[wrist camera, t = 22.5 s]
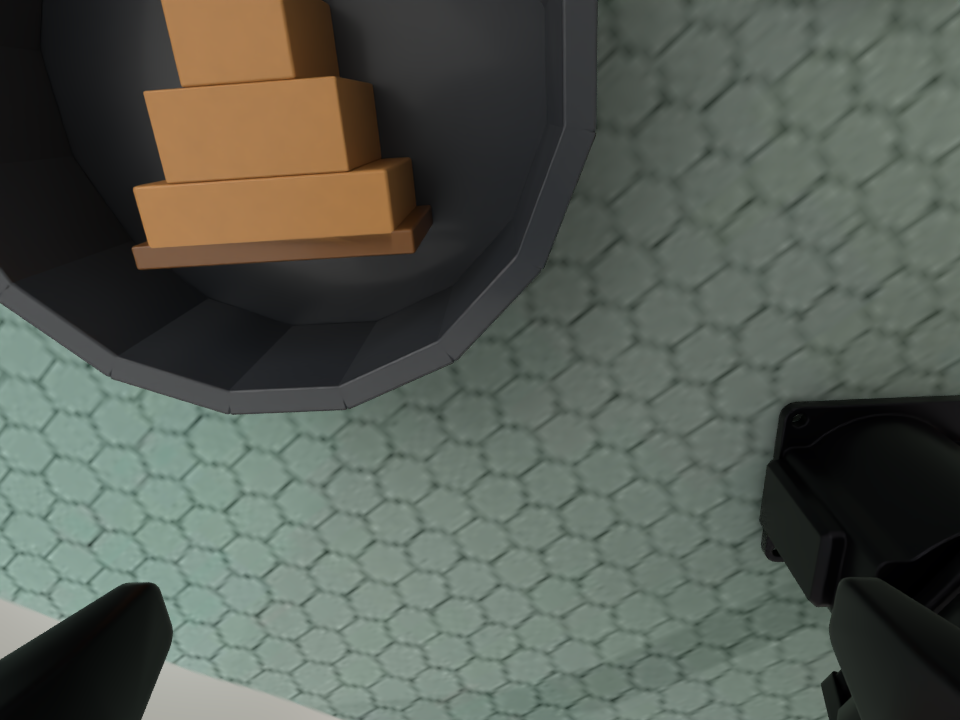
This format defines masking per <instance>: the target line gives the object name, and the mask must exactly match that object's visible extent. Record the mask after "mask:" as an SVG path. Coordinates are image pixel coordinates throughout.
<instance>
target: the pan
mask: <svg viewBox="0 0 960 720" xmlns="http://www.w3.org/2000/svg"><path fill="white" fill-rule="evenodd" d="M322 1H324V2H325V3H327V4H329V6H330V12H331V19H332V26H333V33H334V40H335V47H336V54H337V61H338V68H339V75H340V77H341V78H346V79H351V80H356V81H361V82H366V83H371V84H372V85H373V92H374V100H375V108H376V116H377V124H378V132H379V140H380V148H381V156H382V157H381V159H386V158H400V157H410V158H411V160H412V169H413V178H414V188H415V197H416V206H423V205H430V206H431V208H432V219H433V224H432V226H431V228H430V229H429V231H428V232H427V234H426V236H425V237H424V239H423V240H422V242H421V244H420V245H419V247H418V248H417V250H416V252H415V253H413V254H397V255H380V256H364V257H347V258H330V259H314V260H297V261H281V262H264V263H248V264H231V265H215V266H198V267H181V268H165V269H148V270H139V269H138V268H137V266H136V262H135V259H134V255H133V252H132V247H133V246H135V245H138V244H141V243H144V242H146V241H147V238H146V234H145V231H144V227H143V223H142V220H141V216H140V213H139V209H138V206H137V202H136V199H135V195H134V192H133V188H134V187H135V186H138V185H143V184H148V183H153V182H158V181H163V180H166V179H165V175H164V171H163V167H162V163H161V159H160V155H159V152H158V148H157V144H156V140H155V136H154V132H153V129H152V125H151V121H150V117H149V113H148V109H147V105H146V102H145V98H144V94H143V92H144V91H150V90H162V89H175V88H185V87H182V86H181V83H180V79H179V75H178V71H177V67H176V62H175V58H174V54H173V50H172V45H171V41H170V37H169V33H168V29H167V24H166V20H165V16H164V12H163V7H162V3H161V0H0V303H1V304H3V305H4V306H5V307H7V308H8V309H10V310H11V311H13V312H14V313H16V314H17V315H19V316H20V317H22V318H23V319H24V320H26V321H27V322H29V323H30V324H32V325H33V326H35V327H36V328H38V329H39V330H40V331H42V332H43V333H45V334H46V335H48V336H49V337H51V338H52V339H54V340H55V341H57V342H58V343H59V344H61V345H62V346H64V347H65V348H67V349H68V350H70V351H71V352H73V353H74V354H75V355H77V356H78V357H80V358H81V359H83V360H84V361H86V362H87V363H89V364H90V365H92V366H93V367H94V368H96V369H97V370H99V371H100V372H102V373H103V374H105V375H106V376H109V377H111V378H112V379H114V380H117V381H120V382H124V383H127V384H130V385H134V386H137V387H140V388H143V389H147V390H150V391H153V392H156V393H160V394H163V395H166V396H169V397H173V398H176V399H179V400H182V401H186V402H189V403H192V404H196V405H199V406H202V407H205V408H209V409H212V410H215V411H218V412H222V413H225V414H230V413H231V414H232V415H236V414H260V413H284V412H307V411H331V410H346V409H347V408H348V409H351V408H353V407H355V406H358V405H360V404H362V403H364V402H367V401H369V400H371V399H373V398H376V397H378V396H380V395H382V394H385V393H387V392H389V391H391V390H394V389H396V388H398V387H400V386H403V385H405V384H407V383H409V382H412V381H414V380H416V379H418V378H421V377H423V376H425V375H427V374H430V373H432V372H434V371H436V370H439V369H441V368H443V367H445V366H448V365H450V364H452V363H453V362H454V361H456V360H458V359H459V358H460V357H461V356H462V355H463V354H464V353H465V352H466V351H467V350H468V349H469V348H470V346H471V345H472V344H473V343H474V342H475V341H476V340H477V339H478V338H479V337H480V336H481V335H482V334H483V333H484V332H485V331H486V330H487V328H488V327H489V326H490V325H491V324H492V323H493V322H494V321H495V320H496V319H497V318H498V317H499V316H500V315H501V314H502V313H503V312H504V310H505V309H506V308H507V307H508V306H509V305H510V304H511V303H512V302H513V301H514V300H515V299H516V298H517V297H518V296H519V295H520V294H521V293H522V291H523V290H524V289H525V288H526V287H527V286H528V285H529V284H530V283H531V282H532V281H533V280H534V279H535V278H536V277H537V276H538V275H539V273H540V272H541V270H542V269H543V268H544V267H545V264H546V262H547V259H548V257H549V254H550V252H551V249H552V246H553V244H554V241H555V239H556V236H557V234H558V231H559V228H560V226H561V223H562V221H563V218H564V216H565V213H566V211H567V208H568V205H569V203H570V200H571V198H572V195H573V193H574V190H575V187H576V185H577V182H578V180H579V177H580V175H581V172H582V169H583V167H584V164H585V162H586V159H587V157H588V154H589V152H590V149H591V146H592V144H593V141H594V139H595V136H596V133H595V131H596V129H597V25H598V0H322Z"/></svg>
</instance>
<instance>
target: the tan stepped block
mask: <svg viewBox="0 0 960 720" xmlns="http://www.w3.org/2000/svg"><path fill="white" fill-rule="evenodd" d="M161 3H162V7H163V12H164V16H165V20H166V24H167V29H168V33H169V37H170V41H171V45H172V50H173V54H174V58H175V62H176V67H177V71H178V75H179V79H180V83H181V86H182V87H185V88H175V89H162V90H150V91H144V92H143V94H144V98H145V102H146V105H147V109H148V113H149V117H150V121H151V125H152V129H153V132H154V136H155V140H156V144H157V148H158V152H159V155H160V159H161V163H162V167H163V171H164V175H165V179H166V180H163V181H158V182H153V183H148V184H143V185H138V186H135V187H134V188H133V192H134V195H135V199H136V202H137V206H138V209H139V213H140V216H141V220H142V223H143V227H144V231H145V234H146V238H147V241H146V242H144V243H141V244H138V245H135V246H133V247H132V252H133V255H134V259H135V262H136V266H137V268H138V269H139V270H148V269H165V268H181V267H198V266H215V265H231V264H248V263H264V262H281V261H297V260H314V259H330V258H347V257H364V256H380V255H397V254H413V253H415V252H416V250H417V248H418V247H419V245H420V244H421V242H422V240H423V239H424V237H425V236H426V234H427V232H428V231H429V229H430V228H431V226H432V224H433V219H432V208H431V206H430V205H423V206H416V197H415V188H414V178H413V169H412V160H411V158H410V157H400V158H386V159H381V157H382V156H381V148H380V140H379V132H378V124H377V116H376V108H375V100H374V92H373V85H372V84H371V83H366V82H361V81H356V80H351V79H346V78H341V77H340V75H339V68H338V61H337V54H336V47H335V40H334V33H333V26H332V19H331V12H330V6H329V4H327V3H325V2H324V1H322V0H161Z"/></svg>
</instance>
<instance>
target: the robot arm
mask: <svg viewBox="0 0 960 720" xmlns="http://www.w3.org/2000/svg"><path fill="white" fill-rule="evenodd" d="M798 414H802V416H801V418H800V419H799V420H798V421H794V422H792V420H793V417H795V416H796V415H798ZM760 523H761V525H762V527H763V535H762V542H761V548H762V550H763V552H764V553H765V555H766V557H767V558H768V559H769V560H771V561H774V562H785V564H786V565H787V567H788V568H789V570H790V572H791V573H792V575H793V576H794V578H795V580H796V581H797V583H798V584H799V586H800V588H801V589H802V591H803V593H804V594H805V596H806V597H807V599H808V600H809V601H810V602H811V603H812V604H813V605H815V606H816V607H828V609H829V610H830V612H831V613H832V615H831V619H830V624H829V635H830V640H831V644H832V647H833V650H834V652H835V655H836V657H837V660H838V662H839V665H840V667H841V670H840V671H839V672H836V671H833V672H832V673H831V674H830V675H829V676H828V677H827V678H826V679H825V680H824V681H823V682H822V683H821V687H822V691H823V696H824V700H825V704H826V708H827V712H828V717H829V720H960V395H955V396H930V397H906V398H881V399H857V400H832V401H808V402H794V403H790V404H788V405H787V406H785V407H784V408H783V409H782V410H781V413H780V416H779V422H778V429H777V437H776V444H775V451H774V458H773V460H771V461H770V463H769V464H768V465H767V469H766V476H765V483H764V491H763V498H762V505H761V512H760ZM775 547H776V549H774V548H775ZM773 549H774V550H773ZM172 636H173V629H172V624H171V621H170V618H169V615H168V612H167V609H166V606H165V603H164V600H163V597H162V594H161V591H160V589H159V587H158V586H157V585H156V584H154V583H150V582H143V583H125V584H122V585H120V586H118V587H117V588H115V589H113V590H112V591H110V592H109V593H107V594H105V595H104V596H102V597H100V598H99V599H97V600H96V601H94V602H92V603H91V604H89V605H88V606H86V607H84V608H83V609H81V610H79V611H78V612H76V613H75V614H73V615H71V616H70V617H68V618H67V619H65V620H63V621H62V622H60V623H59V624H57V625H55V626H54V627H52V628H50V629H49V630H47V631H46V632H44V633H43V634H41V635H39V636H38V637H36V638H34V639H33V640H31V641H30V642H28V643H26V644H25V645H23V646H21V647H20V648H18V649H17V650H15V651H14V652H12V653H10V654H9V655H7V656H5V657H4V658H2V659H1V660H0V720H141V719H142V716H143V714H144V711H145V709H146V706H147V704H148V701H149V699H150V696H151V693H152V691H153V689H154V686H155V684H156V681H157V679H158V676H159V674H160V671H161V669H162V666H163V664H164V661H165V659H166V656H167V654H168V651H169V649H170V646H171V642H172Z"/></svg>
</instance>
